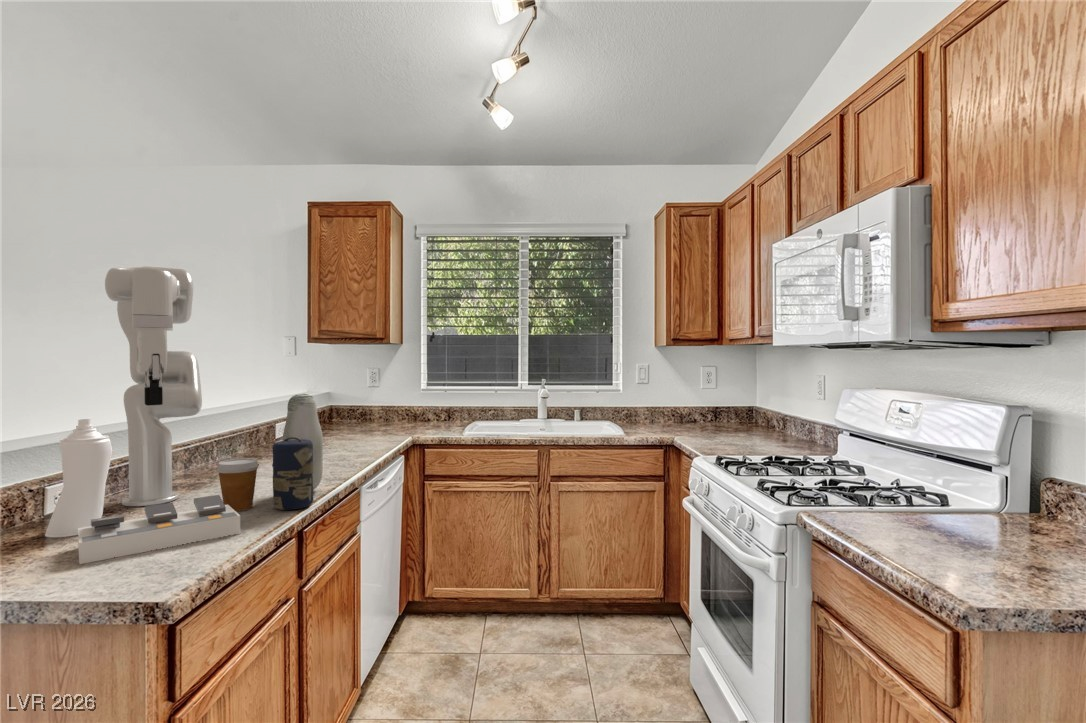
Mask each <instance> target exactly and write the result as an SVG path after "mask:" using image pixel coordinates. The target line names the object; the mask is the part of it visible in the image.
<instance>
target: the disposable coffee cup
mask: <svg viewBox="0 0 1086 723" xmlns="http://www.w3.org/2000/svg"><path fill="white" fill-rule="evenodd" d="M259 467H260V464H259V463H258V460H257V459H256V458H248V457H247V458H243V457H242V458H234V459H227V460H222V461H220V462H218V464H217V467H216V471H217V473H218V478H219V485H220V490H221V499H222V501H223V503H224V505H229V506H230V507H231V508H232V509H234V510H235V511H236V512H242V511H241V510H243V511H247V510H251V508H253V506H254V494H255V487H256V480H257V479H256V478H257V472H258V468H259Z"/></svg>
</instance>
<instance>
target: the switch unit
mask: <svg viewBox="0 0 1086 723" xmlns="http://www.w3.org/2000/svg"><path fill="white" fill-rule="evenodd" d="M225 507H226V512H220V513H214V514H208V515H202V516H199V514H198V512H197V509H192V510H183V511H178V512H177V511H176V512H177V519H172V520H165V521H159V522H153V523H148V520H147V517H140V518H134V519H127V520H124V522H121V523H114V524H108V525H102V526H95V527H92V526H88V527H82V528H78V535H77V542H78V543H77V550H78V564H79V565H83V564H88V563H93V562H97V561H98V562H99V561H103V560H109V559H115V558H120V557H125V556H129V555H130V556H131V555H135V554H140V553H145V552H146V553H147V552H152V551H156V549H157V550H162V548H163V549H167V547H168V548H172V546H173V547H177V545H178V546H183V545H182V544H184V545H187V544H186V543H189V544H192V543H191V542H194V543H197V542H196V541H200V542H203V541H202V540H205V541H207V540H206V539H210V540H213V539H212V538H215V539H219V538H218V537H221V538H224V537H223V536H226V537H229V536H228V535H231V536H235V535H234V534H236V535H240V534H241V514H239V513H238V511H235V510H234V509H232V508H231V507H230V506H229V505H225ZM151 550H152V551H151ZM114 557H115V558H114Z"/></svg>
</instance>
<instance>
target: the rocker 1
mask: <svg viewBox="0 0 1086 723" xmlns="http://www.w3.org/2000/svg"><path fill="white" fill-rule="evenodd" d="M124 521H125V516H124V515H122V514H119V515H112V516H106V517H101V518H98V519H91V526H92V527H95V526H102V525H108V524H114V523H121V522H124Z"/></svg>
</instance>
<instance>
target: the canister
mask: <svg viewBox="0 0 1086 723" xmlns="http://www.w3.org/2000/svg"><path fill="white" fill-rule="evenodd" d="M289 439H297V440H289ZM271 466H272V494H273V502H272V504H273V507H274V508H276V509H277V510H283V511H284V510H286V511H287V510H288V511H289V510H297V509H303V508H304V509H305V508H306V507H309V506H311V505H312V504H313V503H314V490H313V443H312V441H310V440H306V439H298V438H295V437H290V438H287V439H285V440H284V441H283V440H279V441H276V442H274V443H273V445H272V464H271Z"/></svg>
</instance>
